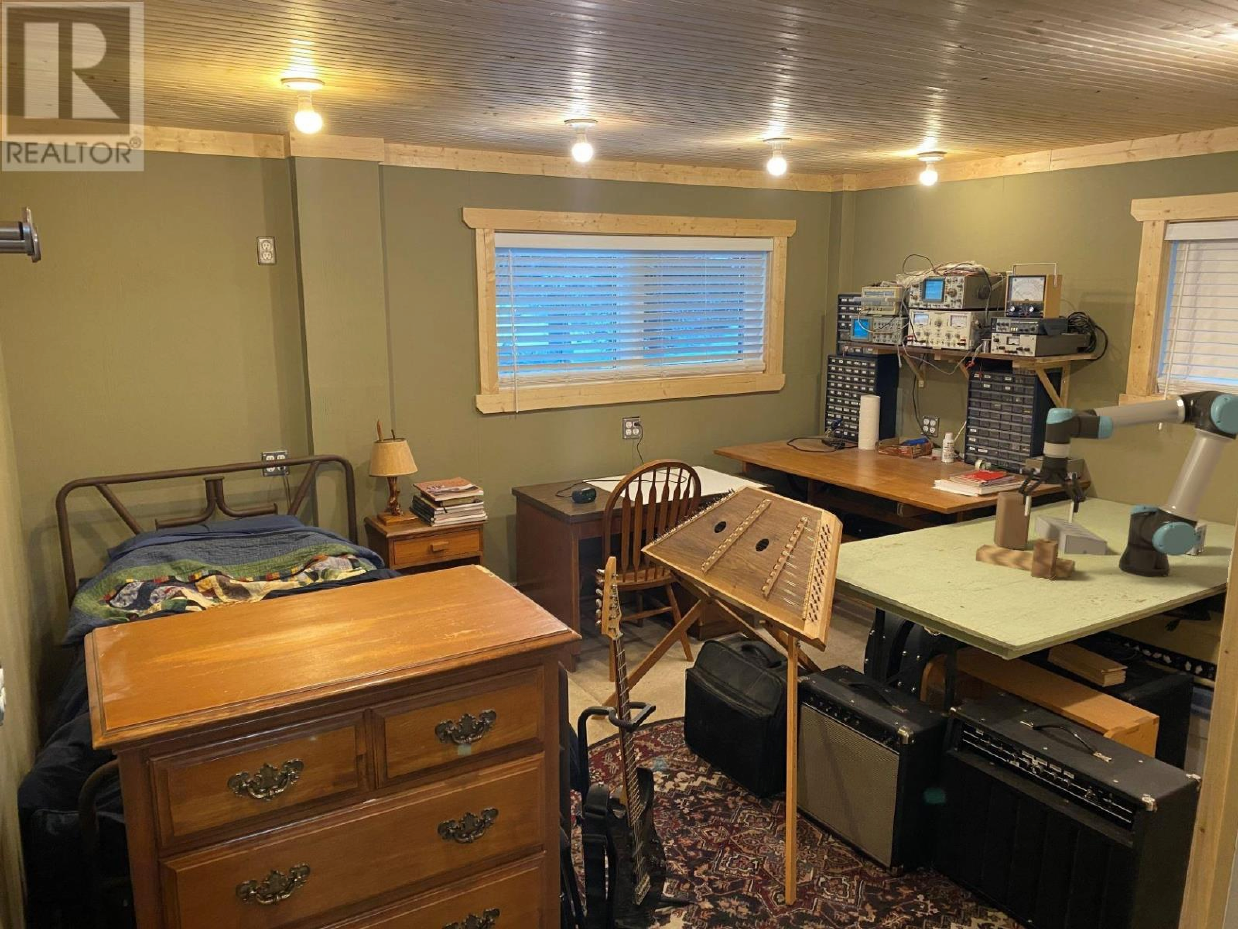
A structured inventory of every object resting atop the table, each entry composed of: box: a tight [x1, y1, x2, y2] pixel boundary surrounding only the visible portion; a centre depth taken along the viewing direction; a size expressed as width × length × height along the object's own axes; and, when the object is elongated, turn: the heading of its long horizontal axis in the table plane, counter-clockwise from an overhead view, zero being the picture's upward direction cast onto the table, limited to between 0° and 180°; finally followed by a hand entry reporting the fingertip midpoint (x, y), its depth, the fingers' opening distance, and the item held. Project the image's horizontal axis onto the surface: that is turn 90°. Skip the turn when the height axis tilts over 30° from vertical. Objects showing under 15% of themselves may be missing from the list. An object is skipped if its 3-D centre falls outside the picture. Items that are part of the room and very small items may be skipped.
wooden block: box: [993, 491, 1033, 551], centre depth 328 cm, size 10×10×20 cm
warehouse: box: [1034, 514, 1108, 556], centre depth 334 cm, size 30×14×8 cm, turn 174°
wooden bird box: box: [1030, 538, 1059, 581], centre depth 296 cm, size 6×15×13 cm, turn 141°
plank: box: [975, 543, 1076, 579], centre depth 305 cm, size 30×9×4 cm, turn 51°
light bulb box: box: [1186, 521, 1208, 556], centre depth 325 cm, size 11×7×11 cm, turn 129°
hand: (1048, 518), depth 290 cm, fingers open, 13 cm apart
